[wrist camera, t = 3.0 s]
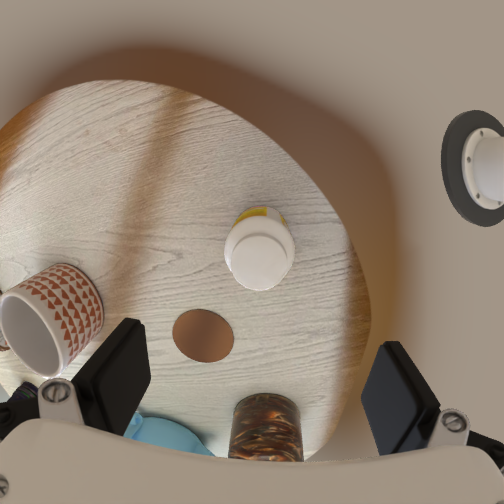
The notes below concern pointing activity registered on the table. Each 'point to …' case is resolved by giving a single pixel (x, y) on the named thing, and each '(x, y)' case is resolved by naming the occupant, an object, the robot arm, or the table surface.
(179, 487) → the robot arm
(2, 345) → the tin
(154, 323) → the table surface
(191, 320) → the brown coaster
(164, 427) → the teapot
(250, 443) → the jar
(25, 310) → the planter
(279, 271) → the supplement bottle
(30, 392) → the storage jar
